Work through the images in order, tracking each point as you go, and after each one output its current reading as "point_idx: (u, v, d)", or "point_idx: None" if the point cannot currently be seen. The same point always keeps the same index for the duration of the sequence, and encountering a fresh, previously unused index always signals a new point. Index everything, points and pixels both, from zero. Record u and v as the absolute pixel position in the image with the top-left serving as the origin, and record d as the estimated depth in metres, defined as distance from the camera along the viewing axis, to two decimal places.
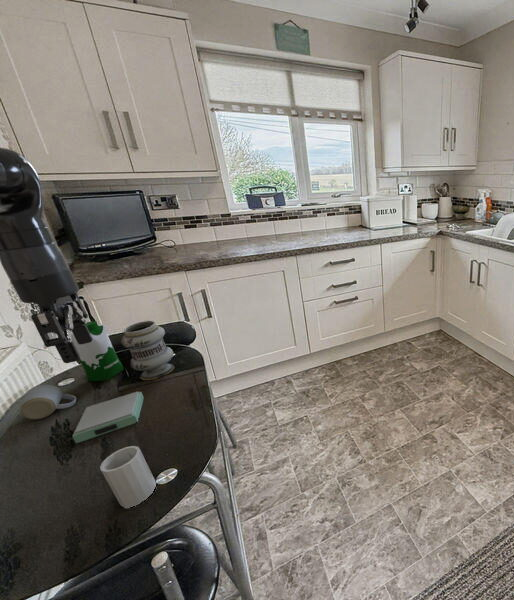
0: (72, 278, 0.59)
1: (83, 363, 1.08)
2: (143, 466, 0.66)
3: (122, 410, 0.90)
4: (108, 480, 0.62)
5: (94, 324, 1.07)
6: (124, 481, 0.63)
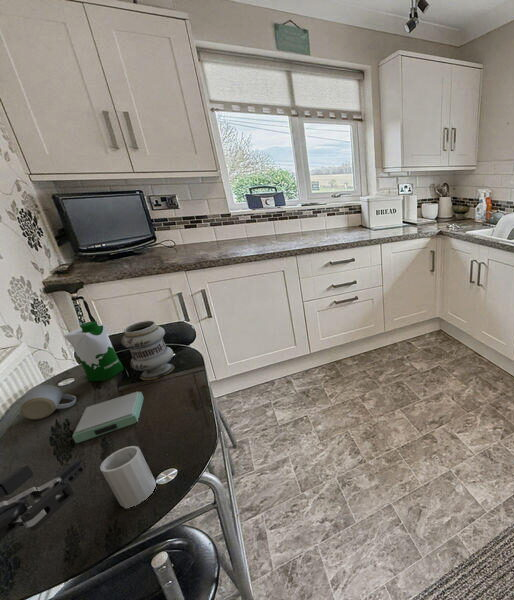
0: None
1: (83, 363, 1.08)
2: (143, 466, 0.66)
3: (122, 410, 0.90)
4: (108, 480, 0.62)
5: (94, 324, 1.07)
6: (124, 481, 0.63)
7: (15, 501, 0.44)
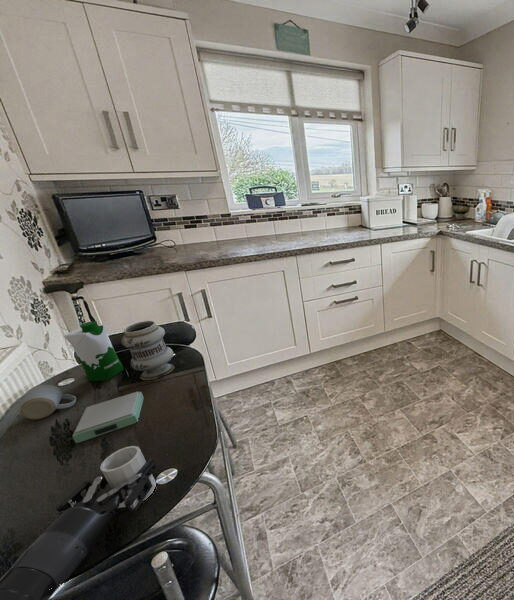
0: None
1: (83, 363, 1.08)
2: None
3: (122, 410, 0.90)
4: (108, 480, 0.62)
5: (94, 324, 1.07)
6: (124, 481, 0.63)
7: (115, 492, 0.60)
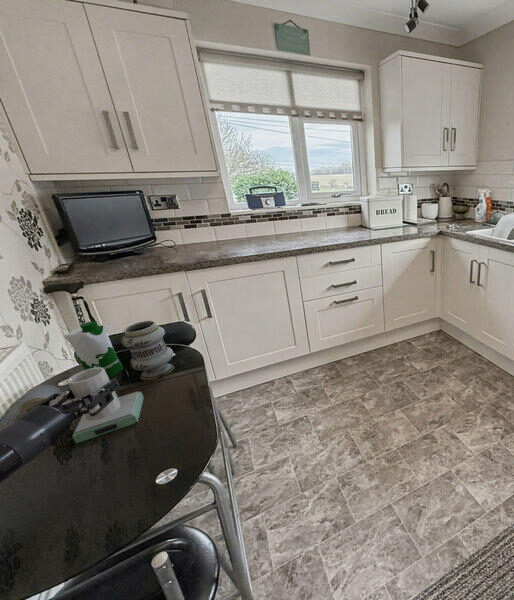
0: None
1: (83, 363, 1.08)
2: None
3: (122, 410, 0.90)
4: (74, 392, 0.70)
5: (94, 324, 1.07)
6: None
7: (78, 399, 0.68)
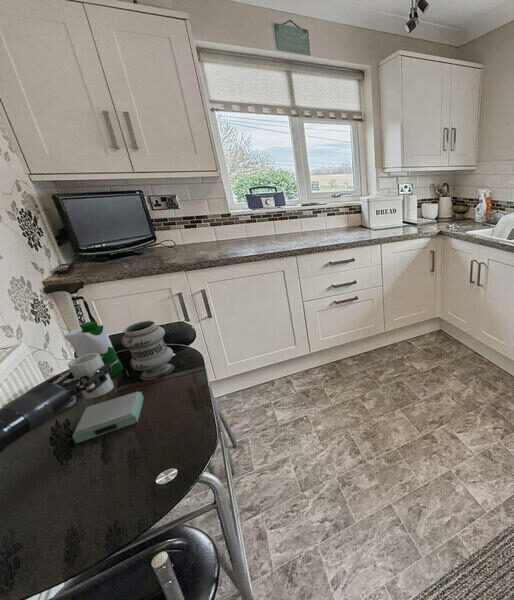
0: None
1: None
2: None
3: (122, 410, 0.90)
4: (73, 373, 0.83)
5: (94, 324, 1.07)
6: None
7: (77, 379, 0.80)
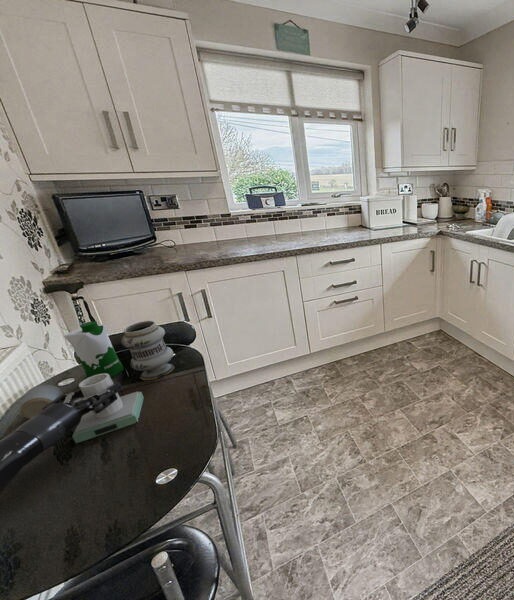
0: None
1: (83, 363, 1.08)
2: None
3: (122, 410, 0.90)
4: (84, 394, 0.85)
5: (94, 324, 1.07)
6: None
7: (87, 398, 0.82)
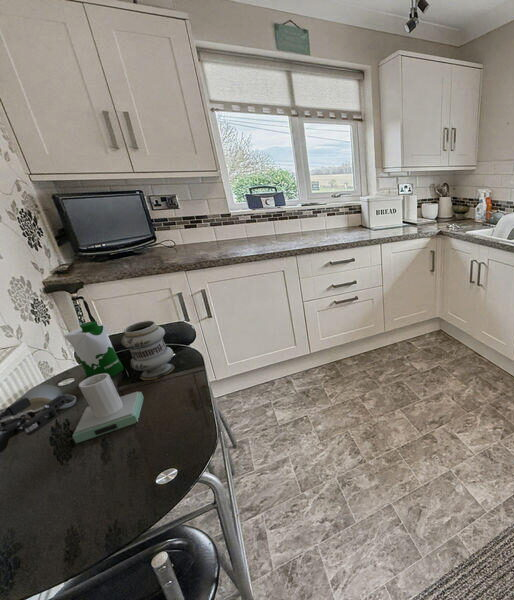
0: None
1: (83, 363, 1.08)
2: (111, 387, 0.89)
3: (122, 410, 0.90)
4: (84, 394, 0.85)
5: (94, 324, 1.07)
6: (96, 395, 0.86)
7: (18, 417, 0.68)
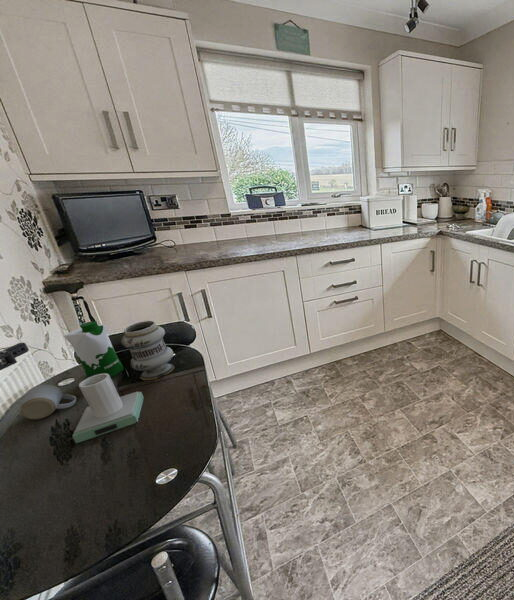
0: None
1: (83, 363, 1.08)
2: (111, 387, 0.89)
3: (122, 410, 0.90)
4: (84, 394, 0.85)
5: (94, 324, 1.07)
6: (96, 395, 0.86)
7: None
